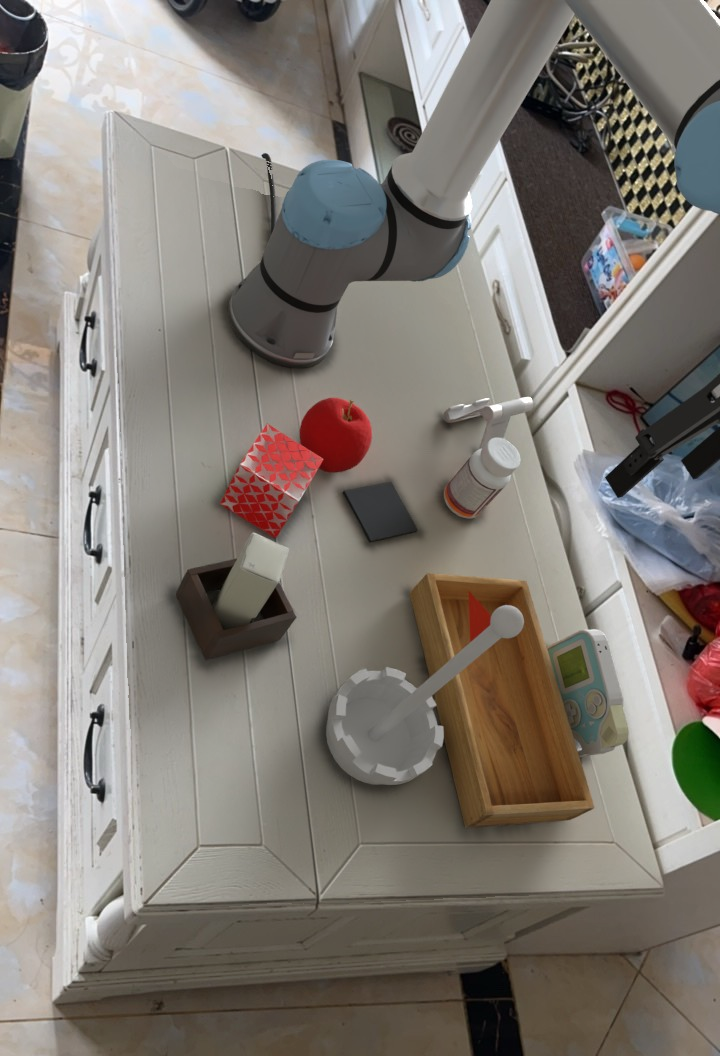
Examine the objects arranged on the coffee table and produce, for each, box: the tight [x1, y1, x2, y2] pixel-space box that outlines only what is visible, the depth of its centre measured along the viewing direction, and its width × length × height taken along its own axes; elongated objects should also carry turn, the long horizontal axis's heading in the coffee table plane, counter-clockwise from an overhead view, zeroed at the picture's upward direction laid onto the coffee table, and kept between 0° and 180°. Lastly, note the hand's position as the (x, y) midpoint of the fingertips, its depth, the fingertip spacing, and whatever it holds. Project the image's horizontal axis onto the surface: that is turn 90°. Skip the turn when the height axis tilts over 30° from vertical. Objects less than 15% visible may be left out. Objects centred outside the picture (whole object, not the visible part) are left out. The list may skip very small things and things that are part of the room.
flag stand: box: [325, 591, 524, 786], centre depth 88 cm, size 13×13×30 cm
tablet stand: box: [443, 396, 534, 449], centre depth 129 cm, size 9×8×8 cm
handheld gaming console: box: [546, 628, 630, 758], centre depth 110 cm, size 11×3×15 cm
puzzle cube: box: [219, 423, 323, 539], centre depth 106 cm, size 8×8×8 cm
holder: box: [174, 557, 297, 662], centre depth 97 cm, size 9×10×6 cm
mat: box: [342, 481, 419, 544], centre depth 116 cm, size 8×8×1 cm
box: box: [212, 532, 290, 630], centre depth 94 cm, size 5×4×13 cm
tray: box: [409, 572, 596, 829], centre depth 107 cm, size 31×15×6 cm, turn 11°
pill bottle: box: [443, 438, 521, 519], centre depth 120 cm, size 6×6×11 cm
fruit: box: [299, 397, 373, 474], centre depth 113 cm, size 9×9×10 cm
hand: (652, 478), depth 97 cm, fingers open, 13 cm apart
